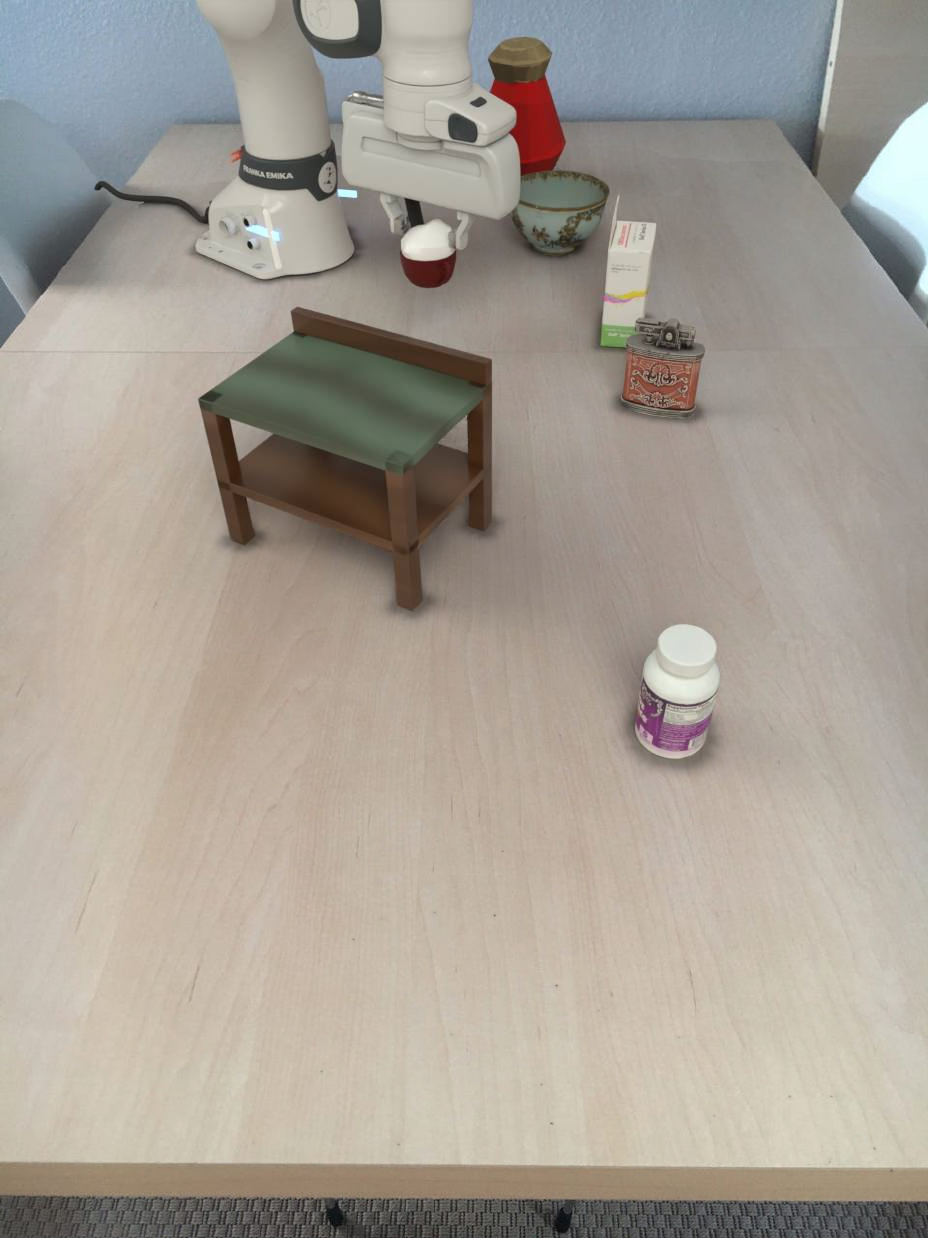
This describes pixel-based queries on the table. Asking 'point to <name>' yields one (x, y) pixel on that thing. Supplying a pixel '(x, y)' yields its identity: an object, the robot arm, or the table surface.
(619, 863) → the table surface
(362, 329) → the green top side table
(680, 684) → the pill bottle
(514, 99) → the bottle
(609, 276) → the white medicine box
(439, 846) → the table surface
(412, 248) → the cocoa
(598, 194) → the bowl
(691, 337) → the lighter
